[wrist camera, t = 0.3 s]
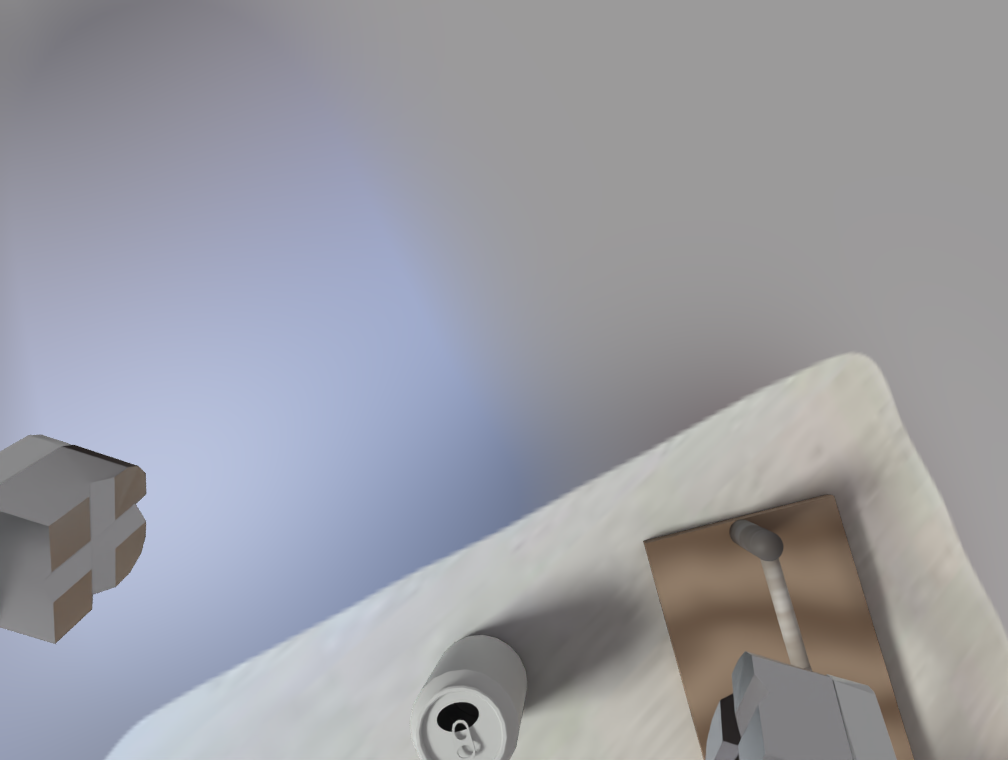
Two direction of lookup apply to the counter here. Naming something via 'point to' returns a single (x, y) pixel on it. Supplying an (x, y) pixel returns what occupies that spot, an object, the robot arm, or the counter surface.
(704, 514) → the counter surface
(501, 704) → the can
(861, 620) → the buzz board
